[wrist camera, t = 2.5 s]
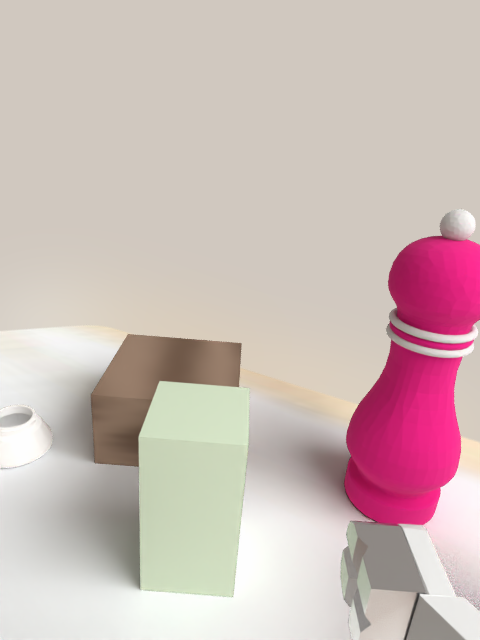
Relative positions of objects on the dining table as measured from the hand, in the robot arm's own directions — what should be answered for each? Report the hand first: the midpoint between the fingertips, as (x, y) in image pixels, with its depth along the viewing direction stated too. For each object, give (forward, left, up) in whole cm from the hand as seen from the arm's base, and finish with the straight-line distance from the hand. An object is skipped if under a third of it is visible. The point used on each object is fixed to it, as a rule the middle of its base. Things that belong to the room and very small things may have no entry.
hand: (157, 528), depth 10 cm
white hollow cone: (-14, +20, -16) cm, 29 cm away
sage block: (0, +12, -15) cm, 20 cm away
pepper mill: (+13, +18, -15) cm, 27 cm away
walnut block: (-3, +24, -15) cm, 29 cm away
